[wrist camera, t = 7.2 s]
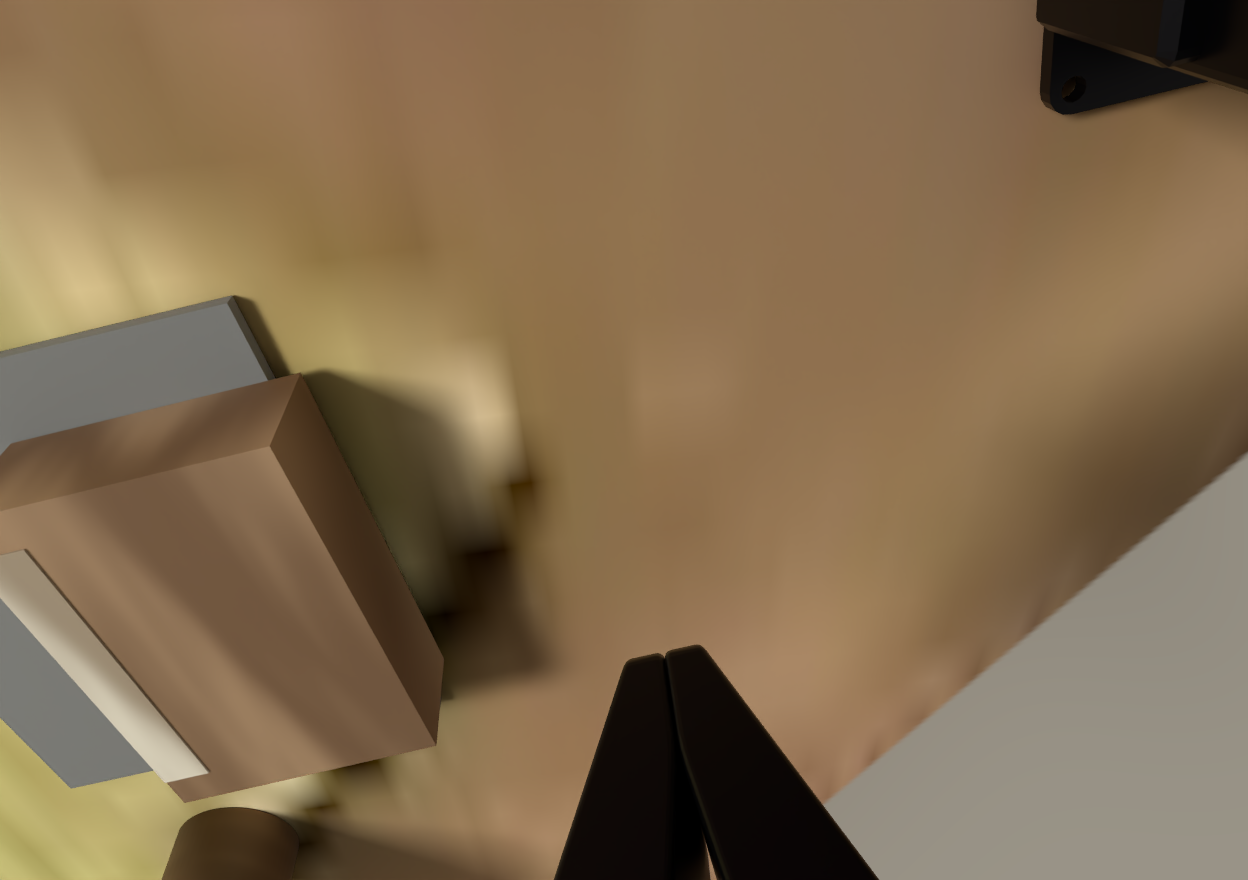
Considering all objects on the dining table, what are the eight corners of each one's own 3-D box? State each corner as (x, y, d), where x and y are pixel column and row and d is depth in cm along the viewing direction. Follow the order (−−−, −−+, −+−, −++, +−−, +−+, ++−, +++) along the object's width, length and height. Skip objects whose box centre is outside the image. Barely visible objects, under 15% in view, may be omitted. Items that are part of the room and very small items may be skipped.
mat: (232, 295, 19) (226, 303, 19) (441, 697, 27) (440, 707, 26) (-276, 418, 19) (-290, 428, 19) (76, 777, 27) (70, 788, 27)
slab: (269, 447, 17) (-63, 527, 17) (436, 747, 23) (183, 804, 23) (300, 371, 20) (11, 442, 20) (444, 657, 25) (217, 710, 26)
